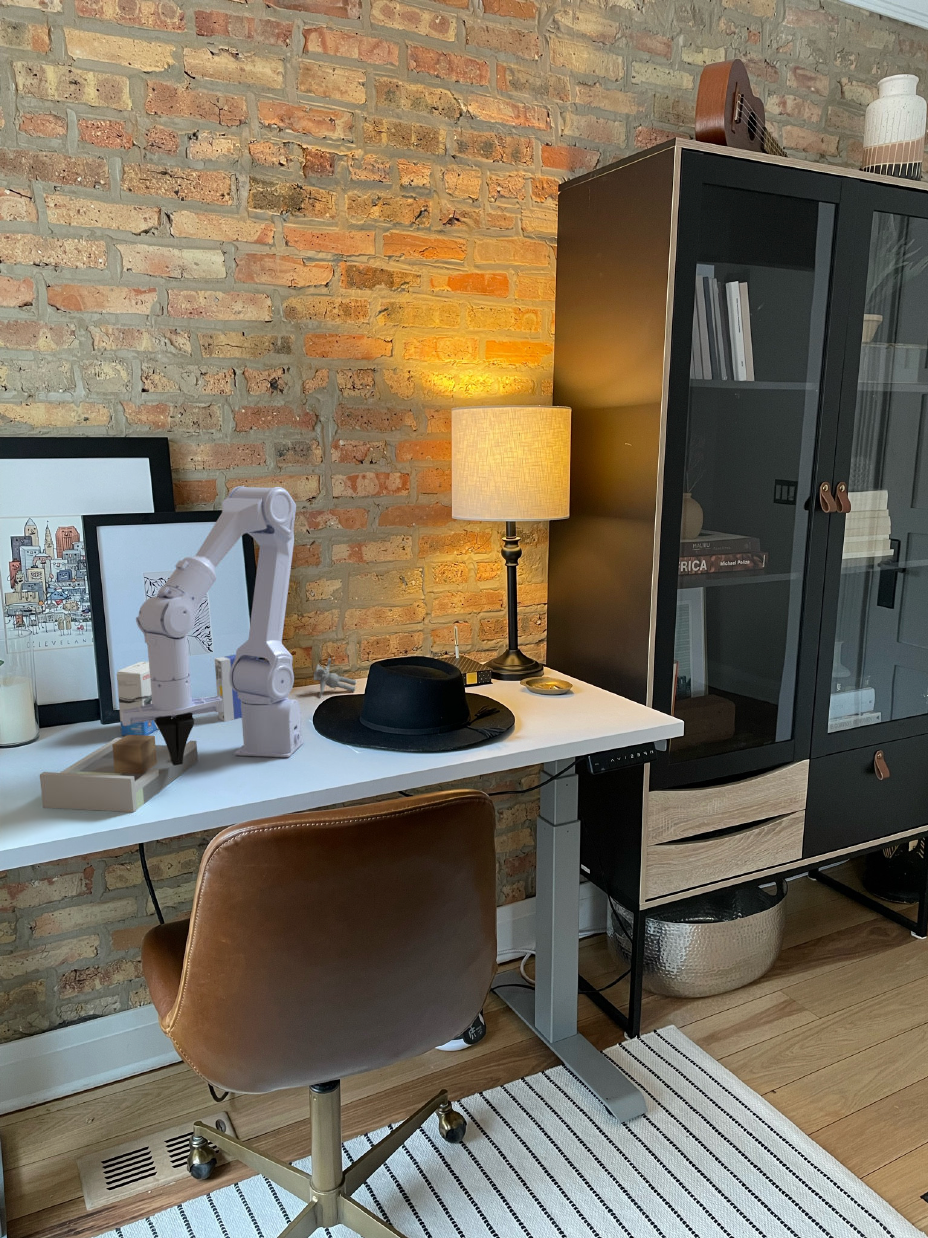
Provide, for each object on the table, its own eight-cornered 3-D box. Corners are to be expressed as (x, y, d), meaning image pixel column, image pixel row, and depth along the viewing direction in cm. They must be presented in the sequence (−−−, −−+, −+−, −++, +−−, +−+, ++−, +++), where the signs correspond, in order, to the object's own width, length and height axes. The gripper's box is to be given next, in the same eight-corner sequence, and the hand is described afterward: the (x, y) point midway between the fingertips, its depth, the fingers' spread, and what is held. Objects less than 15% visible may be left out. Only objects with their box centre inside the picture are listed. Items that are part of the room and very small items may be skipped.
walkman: (253, 709, 179) (250, 649, 177) (261, 712, 177) (257, 652, 175) (217, 718, 174) (212, 656, 172) (224, 721, 172) (220, 659, 170)
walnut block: (156, 763, 143) (154, 735, 142) (142, 774, 139) (140, 745, 138) (129, 762, 144) (127, 734, 143) (114, 772, 139) (112, 744, 138)
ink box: (145, 737, 164) (140, 673, 161) (120, 736, 165) (114, 672, 162) (169, 723, 172) (165, 661, 170) (145, 721, 173) (140, 660, 171)
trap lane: (197, 761, 151) (195, 732, 150) (133, 812, 131) (130, 778, 130) (118, 757, 153) (115, 729, 152) (43, 807, 133) (39, 774, 132)
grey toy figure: (354, 699, 186) (311, 686, 184) (347, 714, 191) (304, 701, 189) (363, 660, 192) (321, 647, 191) (355, 675, 197) (315, 662, 195)
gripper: (213, 664, 145) (219, 747, 147) (115, 676, 138) (123, 763, 141) (223, 674, 138) (229, 760, 141) (121, 687, 132) (129, 777, 135)
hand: (176, 763), depth 141 cm, fingers closed
